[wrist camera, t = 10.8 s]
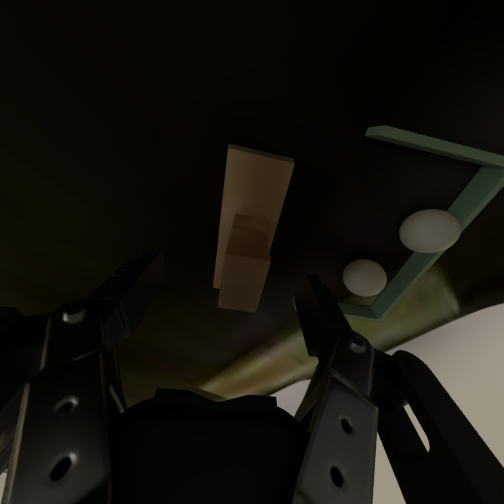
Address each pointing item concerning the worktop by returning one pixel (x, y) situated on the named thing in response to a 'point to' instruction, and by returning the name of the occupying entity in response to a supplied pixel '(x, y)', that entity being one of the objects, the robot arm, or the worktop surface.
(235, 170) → the brown t-shaped block
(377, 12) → the worktop surface
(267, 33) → the worktop surface
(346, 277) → the paper ball
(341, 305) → the corral
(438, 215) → the paper ball
